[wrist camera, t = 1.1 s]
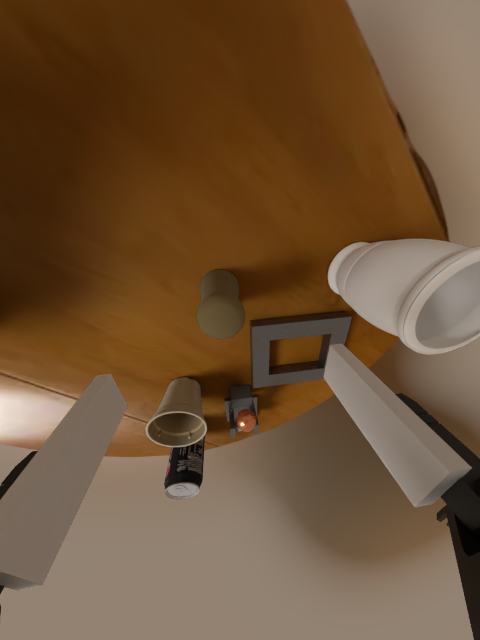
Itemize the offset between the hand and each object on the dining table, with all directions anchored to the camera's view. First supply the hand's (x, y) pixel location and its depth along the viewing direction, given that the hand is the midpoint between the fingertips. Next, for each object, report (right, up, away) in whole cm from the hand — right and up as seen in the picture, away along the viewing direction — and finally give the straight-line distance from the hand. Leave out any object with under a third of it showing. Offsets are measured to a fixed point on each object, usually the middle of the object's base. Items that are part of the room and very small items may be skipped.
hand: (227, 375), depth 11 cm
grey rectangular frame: (+11, -2, +24) cm, 26 cm away
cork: (-2, +8, +17) cm, 19 cm away
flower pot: (-10, -10, +26) cm, 29 cm away
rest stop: (+1, -11, +27) cm, 30 cm away
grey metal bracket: (+1, -16, +30) cm, 34 cm away
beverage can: (-11, -21, +31) cm, 39 cm away
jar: (+19, +11, +18) cm, 28 cm away
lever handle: (+1, -14, +22) cm, 26 cm away
